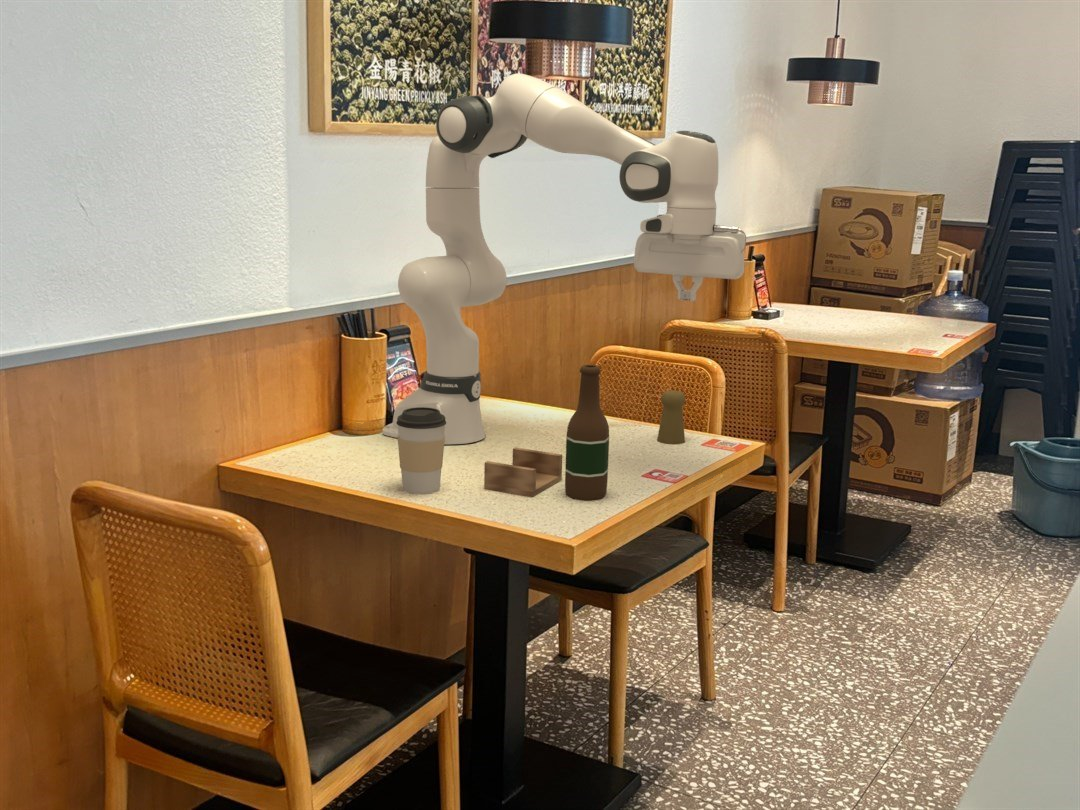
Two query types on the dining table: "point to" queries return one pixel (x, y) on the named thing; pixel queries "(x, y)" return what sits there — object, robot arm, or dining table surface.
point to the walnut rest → (524, 472)
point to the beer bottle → (587, 442)
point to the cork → (672, 418)
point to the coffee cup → (421, 449)
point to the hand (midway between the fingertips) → (686, 300)
